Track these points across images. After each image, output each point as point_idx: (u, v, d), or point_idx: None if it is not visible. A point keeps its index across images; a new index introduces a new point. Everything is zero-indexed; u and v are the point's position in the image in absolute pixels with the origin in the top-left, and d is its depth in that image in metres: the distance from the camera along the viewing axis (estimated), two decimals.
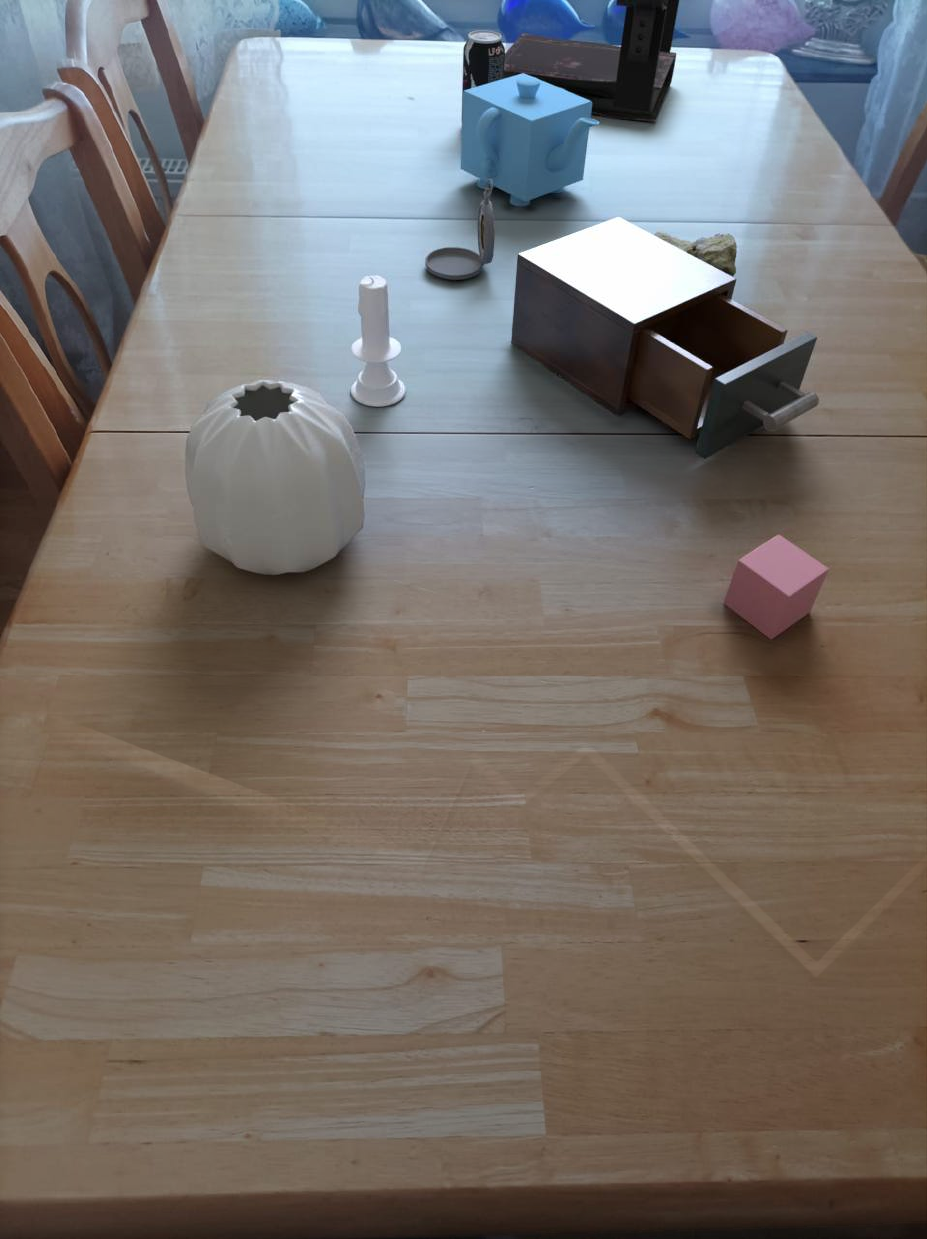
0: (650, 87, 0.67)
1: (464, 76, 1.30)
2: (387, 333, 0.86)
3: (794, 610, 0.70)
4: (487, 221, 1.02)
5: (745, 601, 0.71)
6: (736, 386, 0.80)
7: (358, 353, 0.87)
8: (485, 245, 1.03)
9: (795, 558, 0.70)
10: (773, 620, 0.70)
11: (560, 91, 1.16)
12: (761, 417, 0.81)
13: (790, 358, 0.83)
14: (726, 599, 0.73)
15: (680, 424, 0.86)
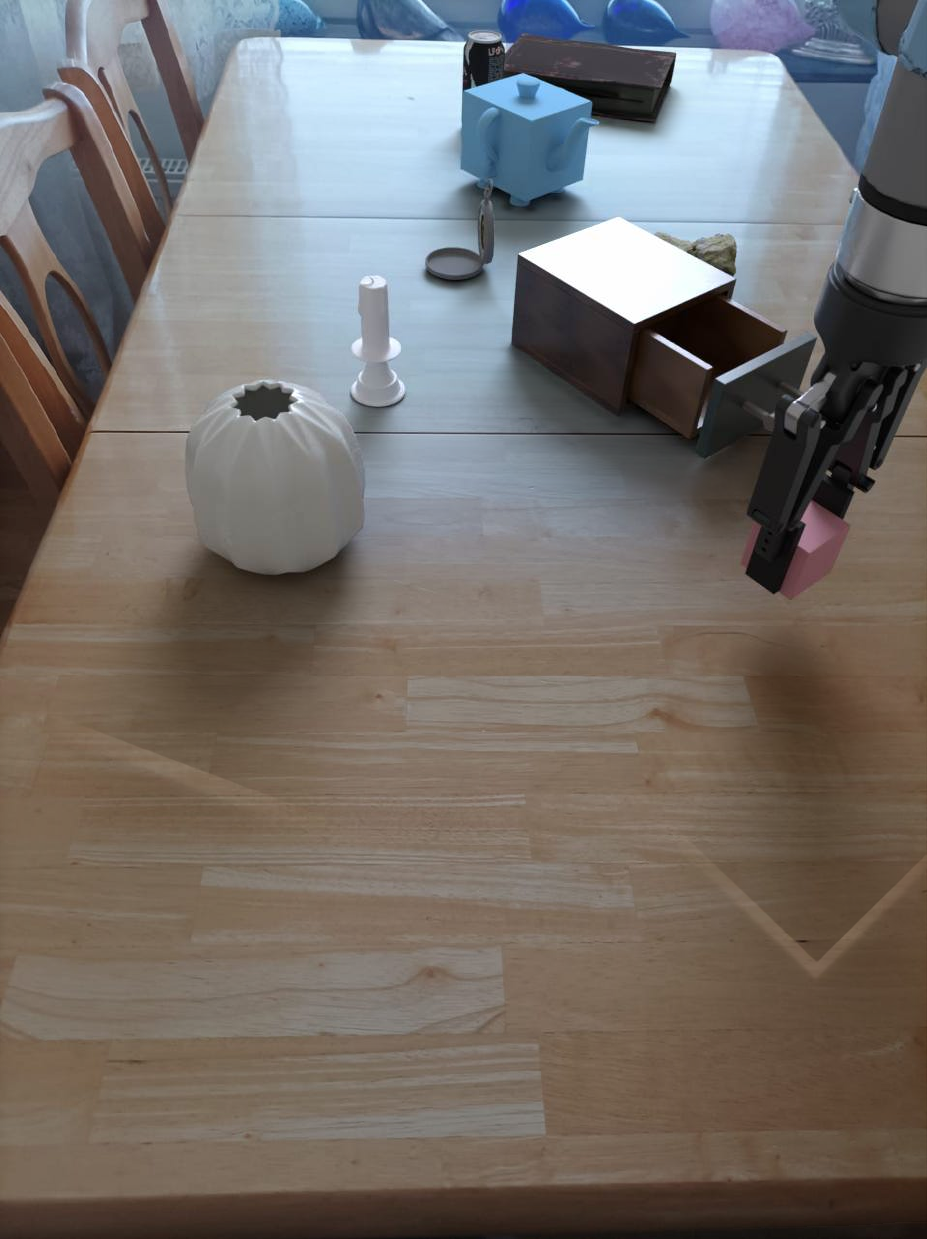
0: (777, 577, 0.67)
1: (464, 76, 1.30)
2: (387, 333, 0.86)
3: (814, 569, 0.67)
4: (487, 221, 1.02)
5: None
6: (736, 386, 0.80)
7: (358, 353, 0.87)
8: (485, 245, 1.03)
9: (815, 514, 0.67)
10: (792, 580, 0.67)
11: (560, 91, 1.16)
12: (761, 417, 0.81)
13: (790, 358, 0.83)
14: (743, 559, 0.70)
15: (680, 424, 0.86)
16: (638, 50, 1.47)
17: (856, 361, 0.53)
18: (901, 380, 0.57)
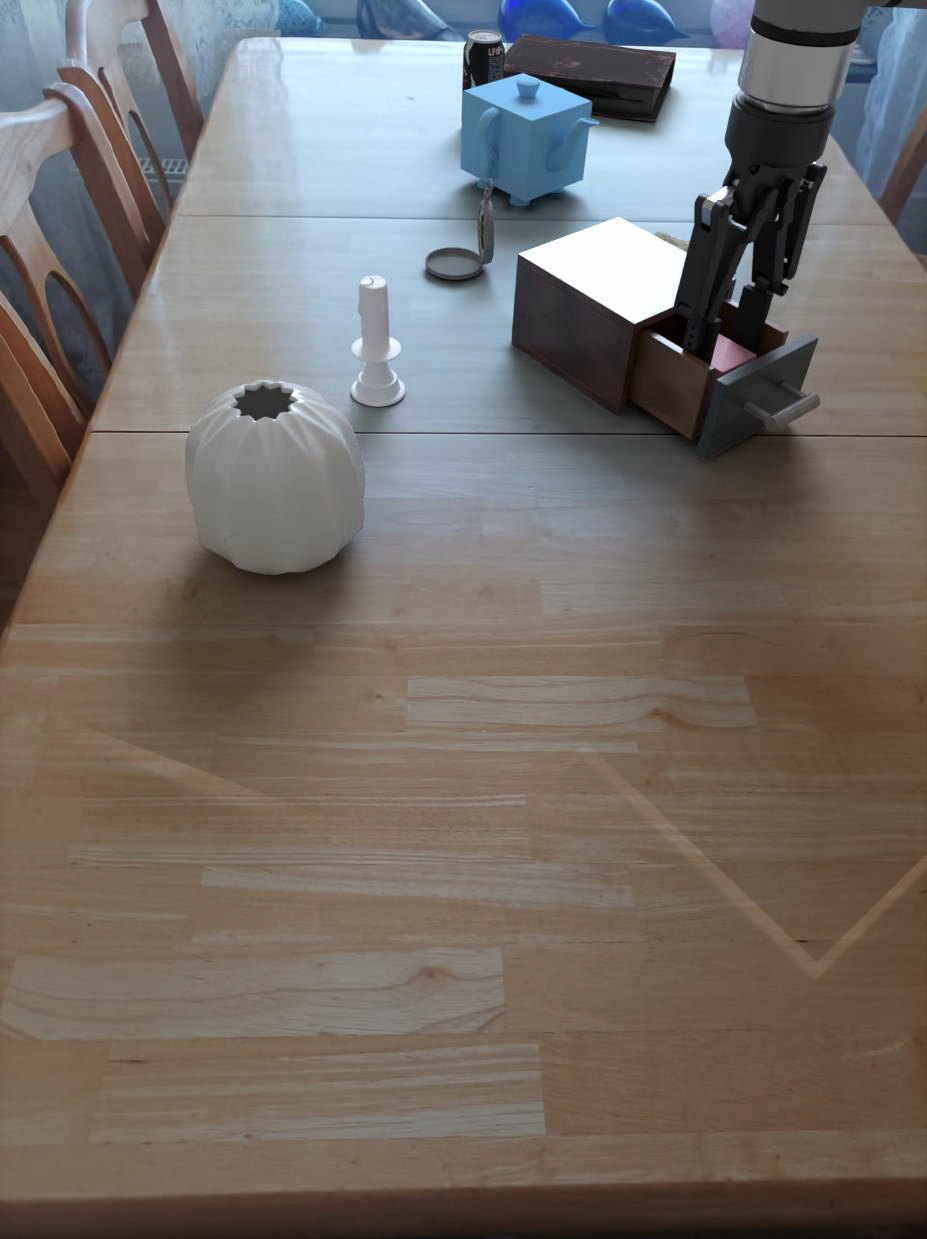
0: None
1: (464, 76, 1.30)
2: (387, 333, 0.86)
3: None
4: (487, 221, 1.02)
5: None
6: (737, 387, 0.79)
7: (358, 353, 0.87)
8: (485, 245, 1.03)
9: (729, 348, 0.86)
10: None
11: (560, 91, 1.16)
12: (762, 418, 0.81)
13: (791, 358, 0.83)
14: None
15: (681, 425, 0.85)
16: (638, 50, 1.47)
17: (754, 164, 0.70)
18: (794, 190, 0.74)
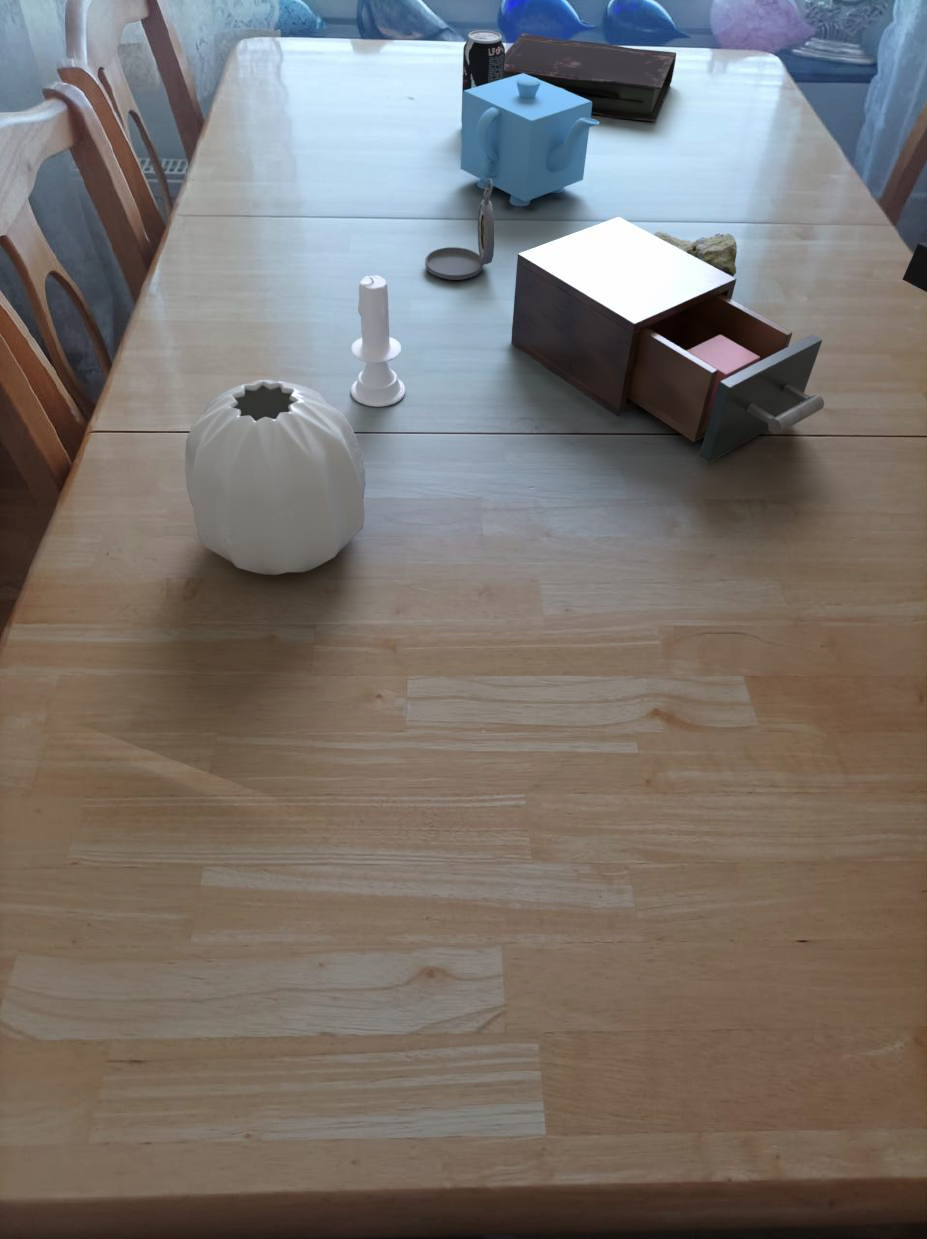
0: None
1: (464, 76, 1.30)
2: (387, 333, 0.86)
3: None
4: (487, 221, 1.02)
5: None
6: (741, 389, 0.79)
7: (358, 353, 0.87)
8: (485, 245, 1.03)
9: (733, 350, 0.85)
10: None
11: (560, 91, 1.16)
12: (766, 420, 0.81)
13: (795, 360, 0.82)
14: None
15: (684, 427, 0.85)
16: (638, 50, 1.47)
17: None
18: None
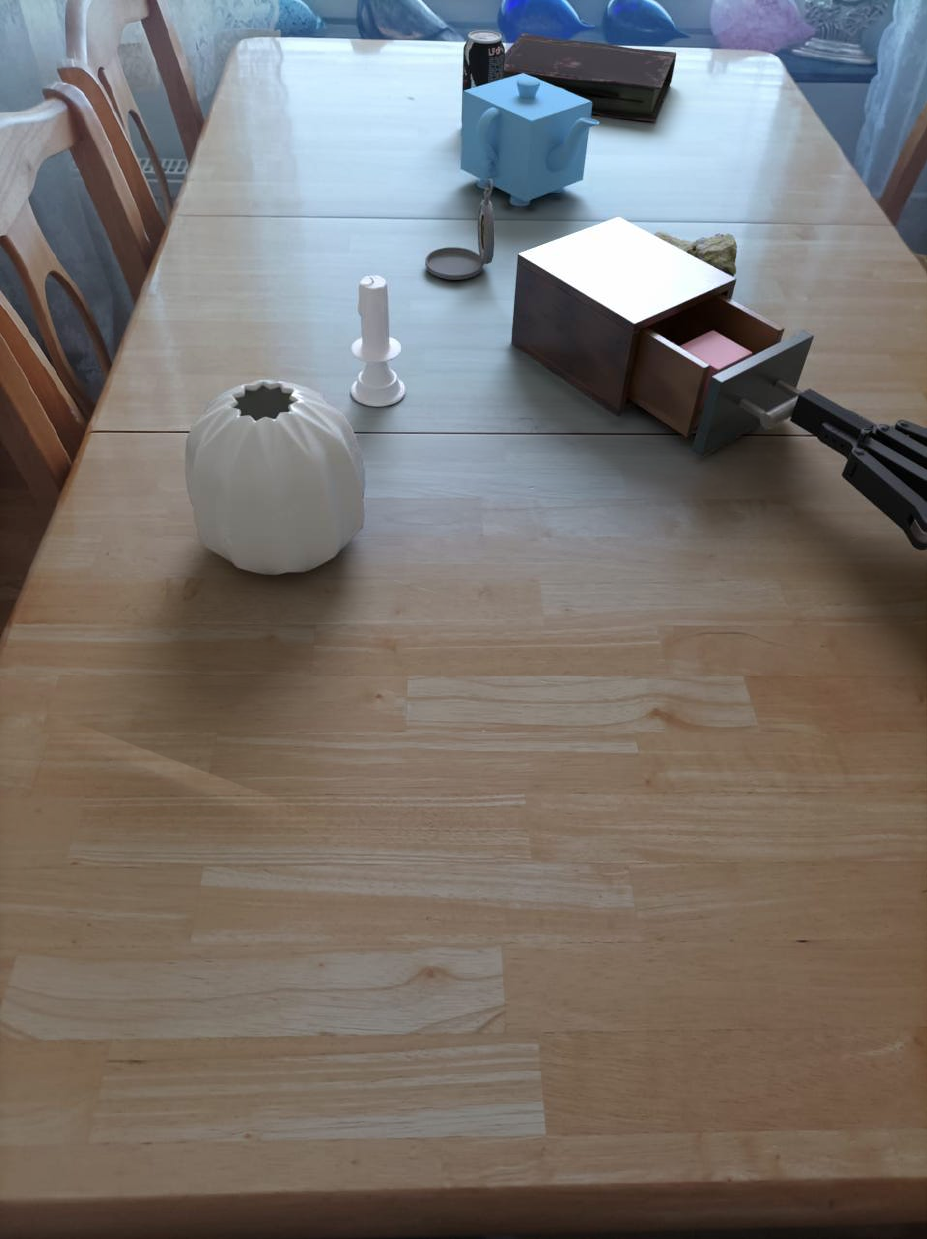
0: (824, 399, 0.79)
1: (464, 76, 1.30)
2: (387, 333, 0.86)
3: None
4: (487, 221, 1.02)
5: None
6: (733, 384, 0.80)
7: (358, 353, 0.87)
8: (485, 245, 1.03)
9: (725, 345, 0.86)
10: None
11: (560, 91, 1.16)
12: (758, 415, 0.81)
13: (787, 356, 0.83)
14: None
15: (677, 422, 0.86)
16: (638, 50, 1.47)
17: None
18: None
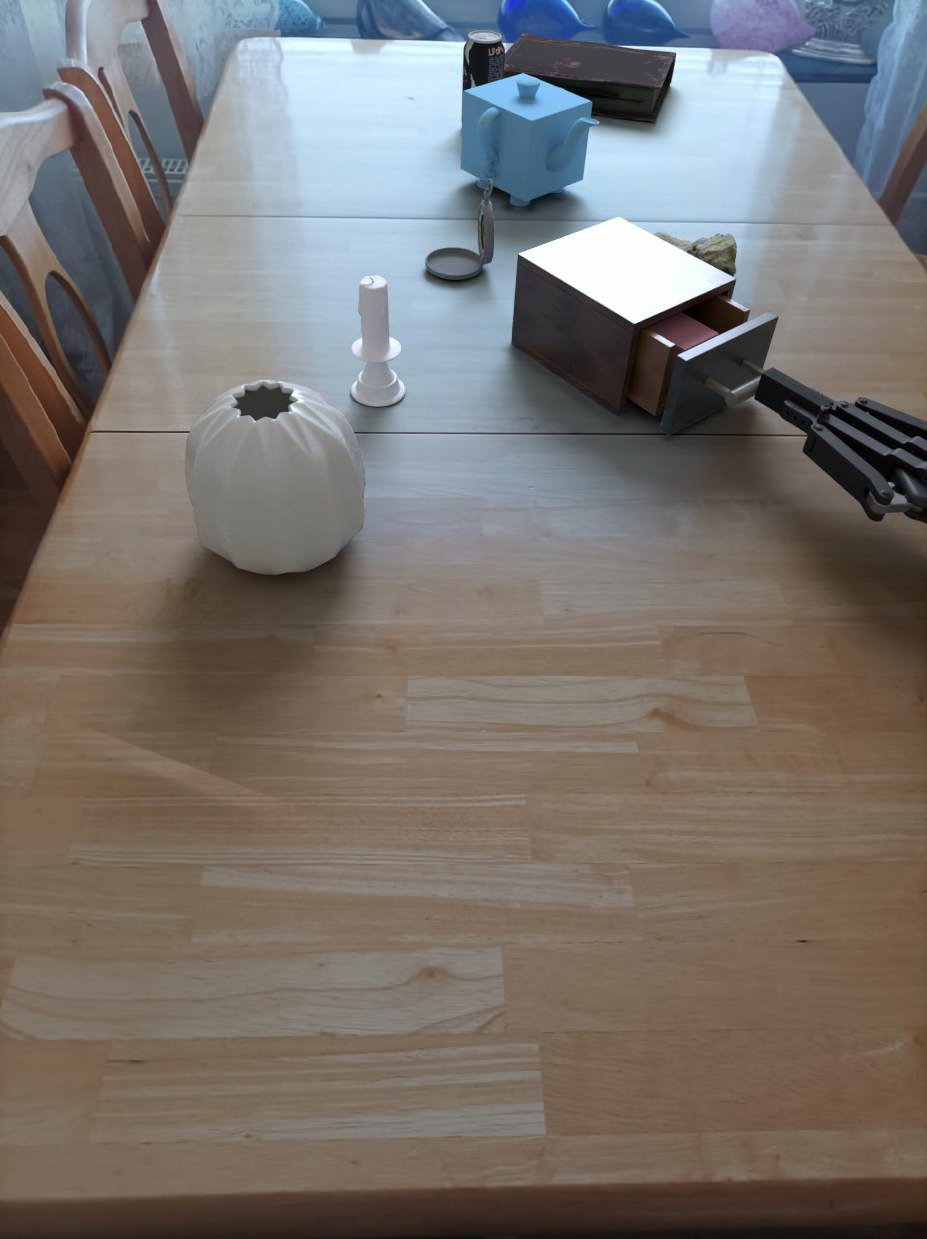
0: (786, 377, 0.81)
1: (464, 76, 1.30)
2: (387, 333, 0.86)
3: None
4: (487, 221, 1.02)
5: None
6: (698, 363, 0.82)
7: (358, 353, 0.87)
8: (485, 245, 1.03)
9: (693, 326, 0.88)
10: None
11: (560, 91, 1.16)
12: (723, 393, 0.83)
13: (751, 336, 0.85)
14: None
15: (646, 402, 0.88)
16: (638, 50, 1.47)
17: None
18: None
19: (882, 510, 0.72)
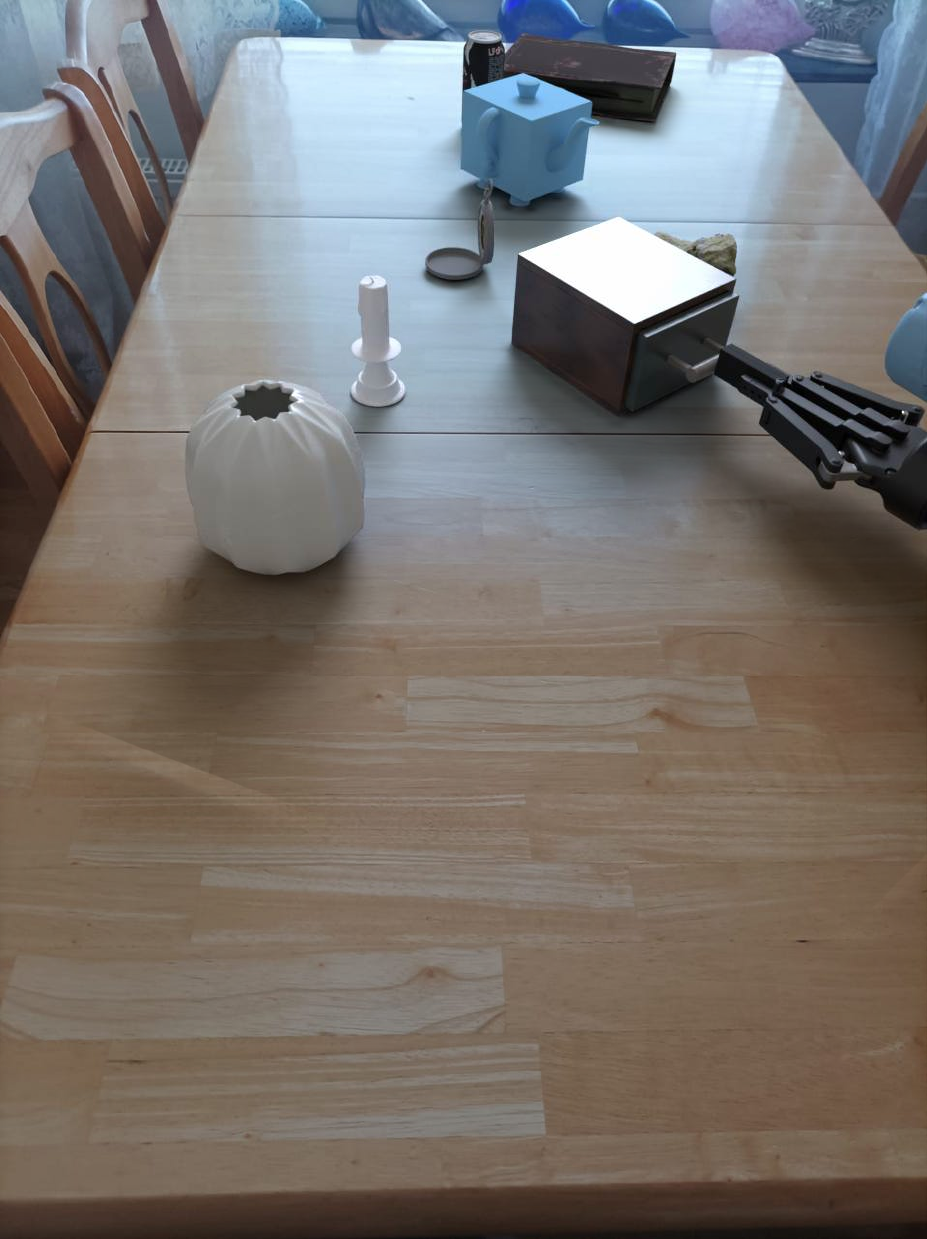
0: (744, 352, 0.84)
1: (464, 76, 1.30)
2: (387, 333, 0.86)
3: None
4: (487, 221, 1.02)
5: None
6: (659, 339, 0.84)
7: (358, 353, 0.87)
8: (485, 245, 1.03)
9: None
10: None
11: (560, 91, 1.16)
12: (684, 370, 0.86)
13: (713, 314, 0.87)
14: None
15: None
16: (638, 50, 1.47)
17: None
18: (881, 438, 0.75)
19: (833, 478, 0.74)
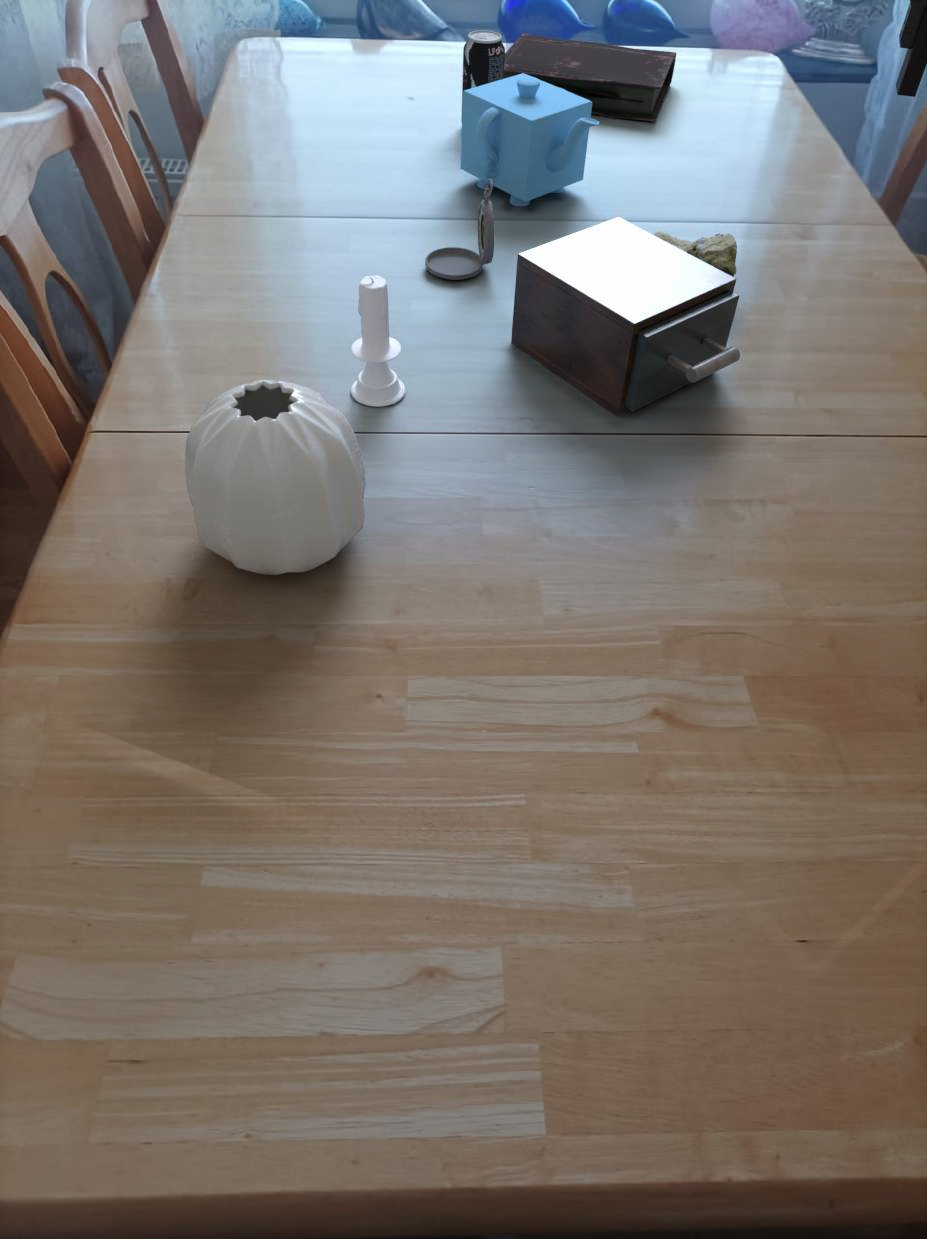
0: (904, 73, 0.80)
1: (464, 76, 1.30)
2: (387, 333, 0.86)
3: None
4: (487, 221, 1.02)
5: None
6: (659, 339, 0.84)
7: (358, 353, 0.87)
8: (485, 245, 1.03)
9: None
10: None
11: (560, 91, 1.16)
12: (684, 370, 0.86)
13: (713, 314, 0.87)
14: None
15: None
16: (638, 50, 1.47)
17: None
18: None
19: None
